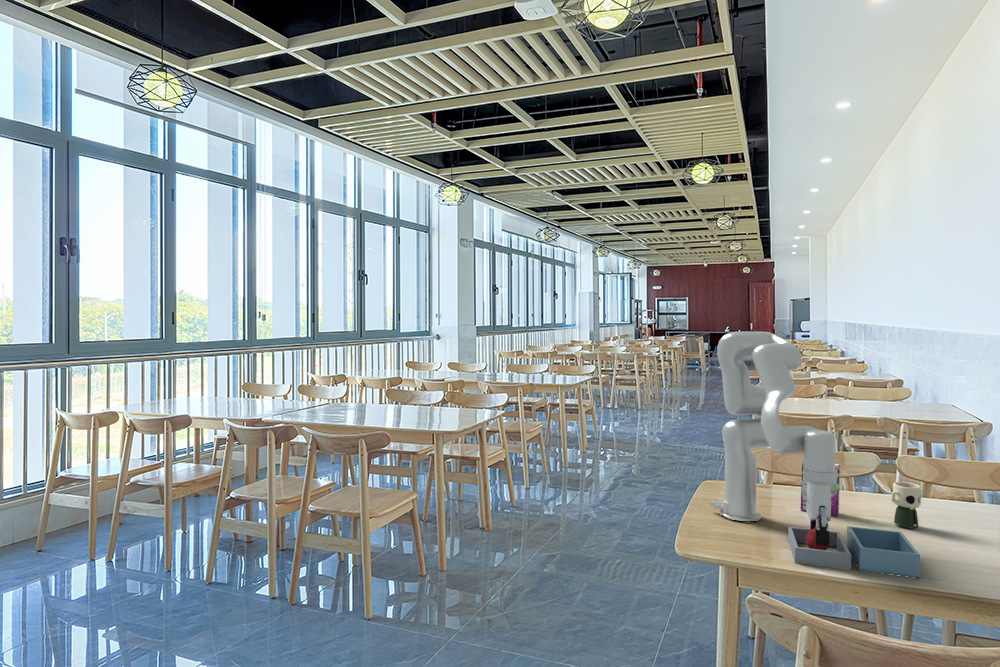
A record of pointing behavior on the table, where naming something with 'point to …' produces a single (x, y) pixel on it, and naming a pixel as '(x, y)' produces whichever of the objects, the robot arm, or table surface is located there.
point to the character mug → (906, 503)
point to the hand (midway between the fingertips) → (819, 539)
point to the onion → (811, 541)
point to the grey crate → (819, 556)
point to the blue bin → (883, 552)
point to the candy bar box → (834, 491)
